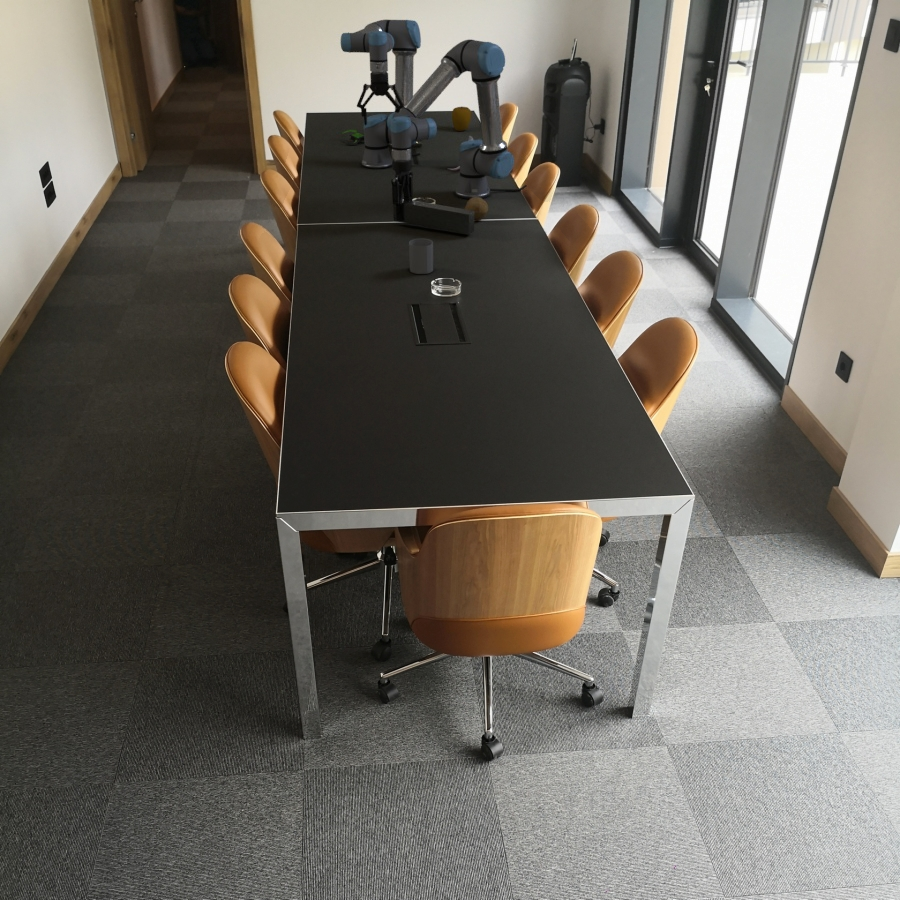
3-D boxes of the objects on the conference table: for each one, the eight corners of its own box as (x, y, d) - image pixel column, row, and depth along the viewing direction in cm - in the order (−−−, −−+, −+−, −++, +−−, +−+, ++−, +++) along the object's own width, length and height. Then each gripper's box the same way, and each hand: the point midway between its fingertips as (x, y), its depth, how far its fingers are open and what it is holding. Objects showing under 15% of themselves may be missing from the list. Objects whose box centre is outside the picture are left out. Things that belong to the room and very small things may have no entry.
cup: (409, 265, 311) (408, 238, 306) (432, 265, 312) (431, 238, 307) (410, 274, 304) (409, 246, 299) (433, 273, 305) (433, 246, 299)
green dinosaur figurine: (396, 126, 467) (340, 124, 465) (396, 141, 460) (339, 139, 458) (396, 136, 472) (341, 134, 470) (396, 151, 465) (340, 149, 463)
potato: (486, 212, 363) (486, 193, 359) (489, 223, 352) (490, 203, 347) (463, 213, 363) (463, 194, 359) (465, 223, 351) (466, 204, 347)
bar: (473, 231, 340) (474, 210, 336) (468, 234, 336) (469, 214, 332) (399, 217, 353) (399, 197, 348) (393, 220, 349) (393, 201, 344)
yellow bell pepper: (471, 132, 486) (471, 108, 479) (451, 132, 486) (451, 108, 479) (470, 128, 495) (471, 104, 488) (452, 128, 495) (452, 104, 488)
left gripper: (348, 73, 362) (351, 126, 374) (407, 74, 361) (408, 127, 372) (351, 70, 368) (354, 122, 380) (409, 71, 367) (410, 123, 378)
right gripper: (404, 153, 345) (406, 211, 357) (381, 163, 331) (383, 223, 344) (421, 155, 342) (422, 213, 354) (398, 166, 328) (400, 226, 341)
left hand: (381, 124), depth 376 cm, fingers open, 13 cm apart
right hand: (403, 218), depth 349 cm, fingers closed on bar, 5 cm apart
